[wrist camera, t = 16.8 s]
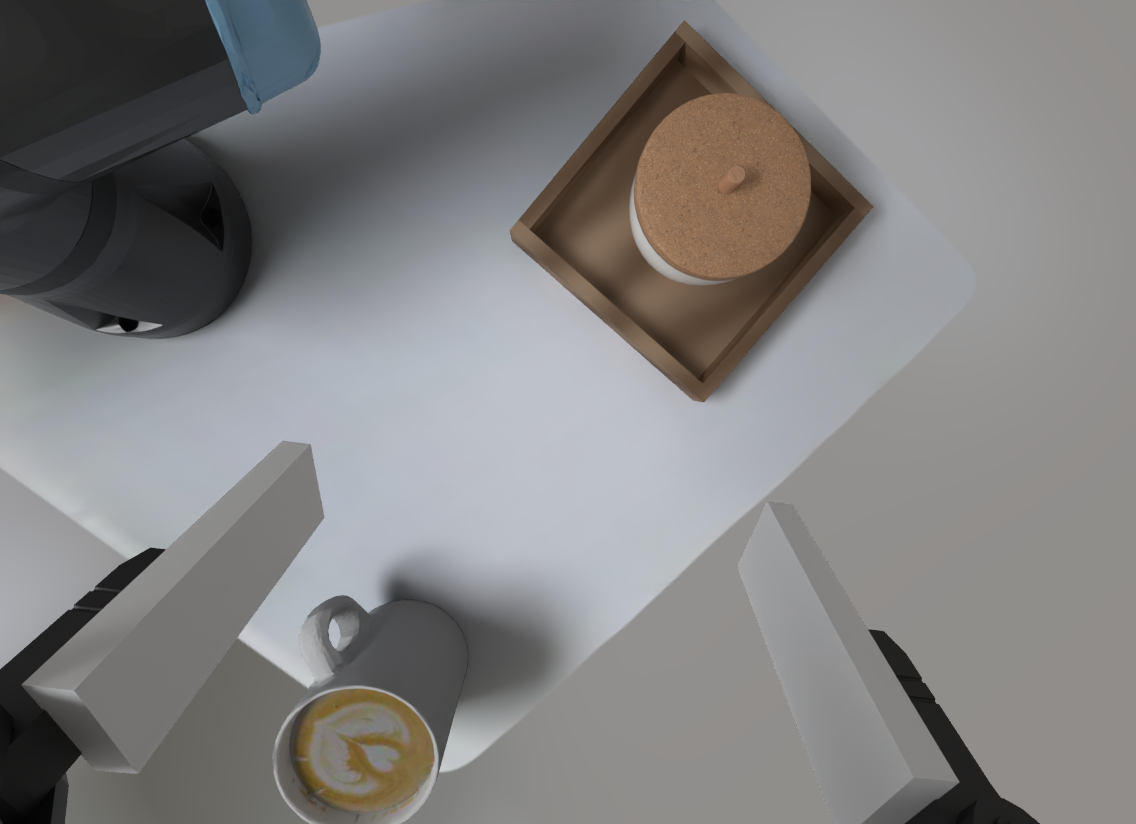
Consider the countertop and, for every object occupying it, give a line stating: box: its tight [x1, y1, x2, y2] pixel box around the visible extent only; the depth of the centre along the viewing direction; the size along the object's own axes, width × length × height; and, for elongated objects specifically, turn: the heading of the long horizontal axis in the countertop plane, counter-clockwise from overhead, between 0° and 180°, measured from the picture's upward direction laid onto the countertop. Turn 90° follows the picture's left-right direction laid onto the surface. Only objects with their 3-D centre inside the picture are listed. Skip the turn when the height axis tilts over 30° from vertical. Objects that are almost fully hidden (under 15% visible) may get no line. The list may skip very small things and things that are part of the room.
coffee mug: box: [273, 595, 468, 824], centre depth 32 cm, size 13×10×10 cm
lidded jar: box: [629, 93, 811, 286], centre depth 30 cm, size 11×11×9 cm
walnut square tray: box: [510, 20, 873, 402], centre depth 34 cm, size 19×19×2 cm
